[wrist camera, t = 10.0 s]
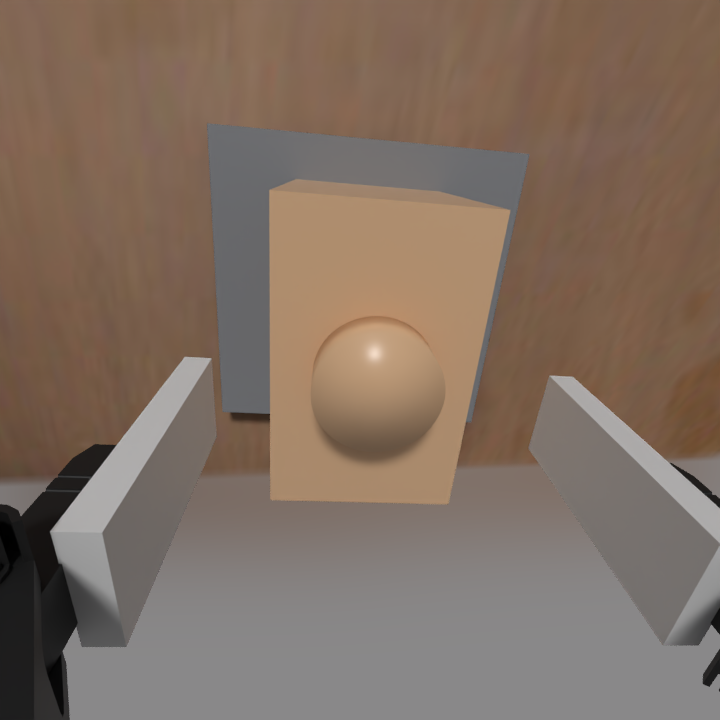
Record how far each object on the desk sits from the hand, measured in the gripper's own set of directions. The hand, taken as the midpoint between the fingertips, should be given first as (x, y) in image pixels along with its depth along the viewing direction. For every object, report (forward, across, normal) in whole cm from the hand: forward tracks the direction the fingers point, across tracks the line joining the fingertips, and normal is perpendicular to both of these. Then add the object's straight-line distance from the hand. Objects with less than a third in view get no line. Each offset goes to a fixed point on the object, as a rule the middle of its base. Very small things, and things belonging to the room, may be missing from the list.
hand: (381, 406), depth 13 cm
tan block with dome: (+12, 0, 0) cm, 12 cm away
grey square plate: (+14, 0, 0) cm, 14 cm away
